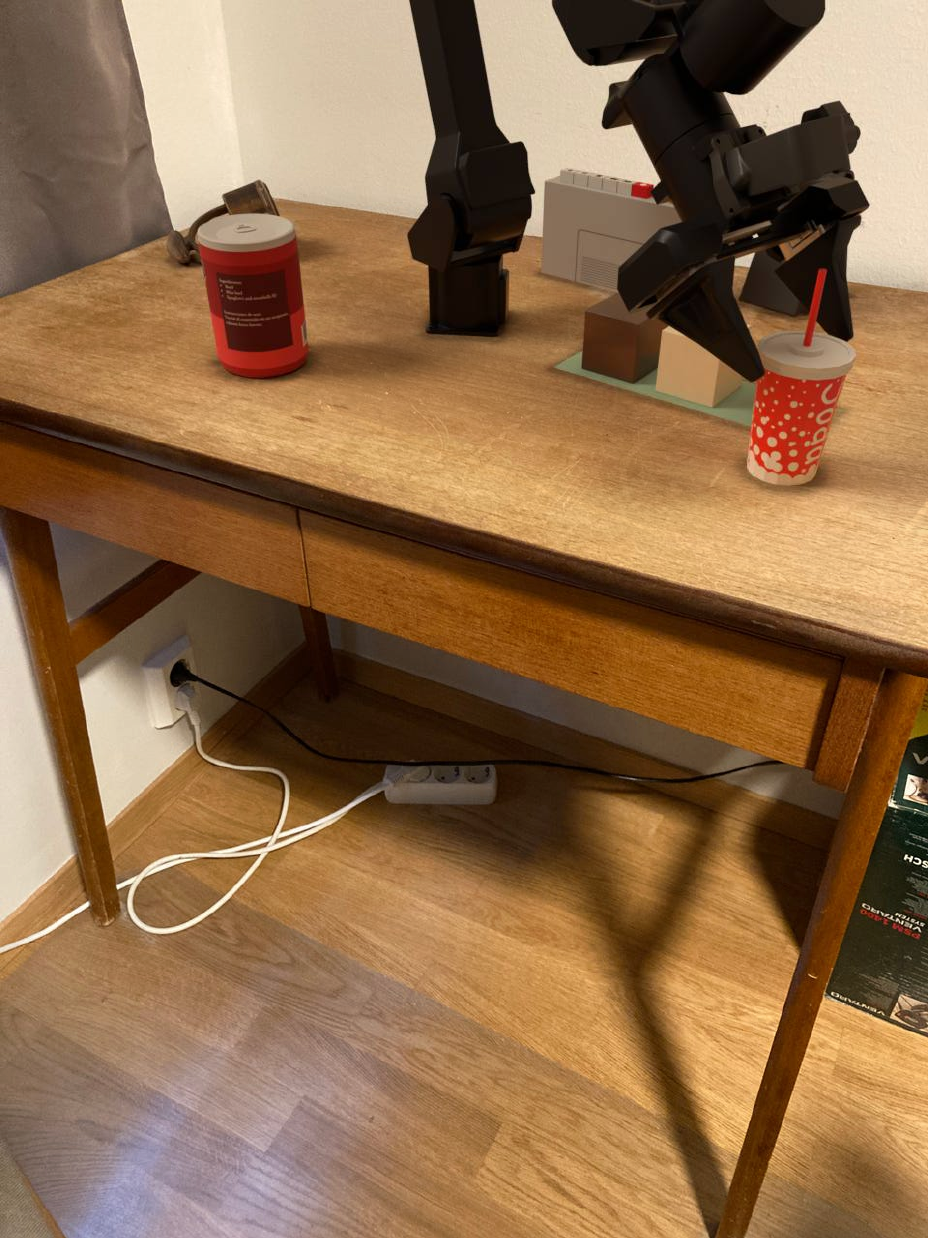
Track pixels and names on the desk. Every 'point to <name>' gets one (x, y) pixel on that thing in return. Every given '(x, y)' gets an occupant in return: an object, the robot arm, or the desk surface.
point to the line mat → (730, 408)
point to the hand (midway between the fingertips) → (804, 359)
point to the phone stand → (763, 281)
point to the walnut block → (620, 341)
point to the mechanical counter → (235, 202)
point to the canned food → (254, 293)
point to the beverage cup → (796, 399)
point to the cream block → (693, 371)
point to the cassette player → (597, 225)
